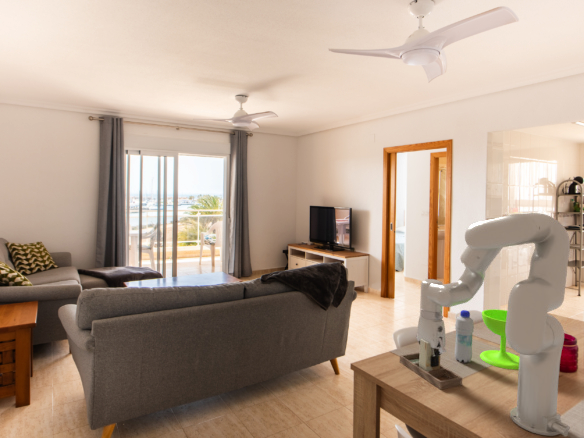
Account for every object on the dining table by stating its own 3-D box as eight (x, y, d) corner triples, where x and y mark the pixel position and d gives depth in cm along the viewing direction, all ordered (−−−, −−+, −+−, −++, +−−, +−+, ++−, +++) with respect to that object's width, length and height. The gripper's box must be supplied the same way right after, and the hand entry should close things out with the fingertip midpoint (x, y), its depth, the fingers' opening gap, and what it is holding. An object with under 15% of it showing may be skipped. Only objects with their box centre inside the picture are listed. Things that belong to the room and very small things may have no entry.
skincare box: (425, 376, 135) (426, 343, 134) (418, 371, 139) (419, 338, 138) (440, 374, 137) (441, 341, 136) (432, 369, 141) (433, 337, 140)
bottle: (468, 357, 152) (470, 308, 151) (475, 364, 145) (477, 313, 144) (451, 356, 152) (453, 307, 151) (457, 363, 146) (459, 312, 145)
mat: (429, 366, 143) (429, 365, 143) (413, 369, 141) (413, 368, 141) (418, 359, 149) (418, 358, 149) (403, 362, 146) (403, 361, 146)
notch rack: (462, 384, 129) (462, 377, 129) (440, 389, 126) (440, 382, 126) (419, 358, 150) (419, 352, 150) (399, 361, 147) (399, 355, 147)
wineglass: (518, 354, 155) (520, 311, 154) (532, 371, 140) (535, 324, 139) (475, 349, 159) (477, 307, 158) (485, 366, 144) (487, 320, 142)
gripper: (456, 320, 130) (455, 371, 131) (423, 306, 146) (422, 352, 147) (439, 322, 127) (437, 375, 129) (407, 308, 143) (406, 355, 144)
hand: (429, 362), depth 138 cm, fingers closed on skincare box, 4 cm apart
